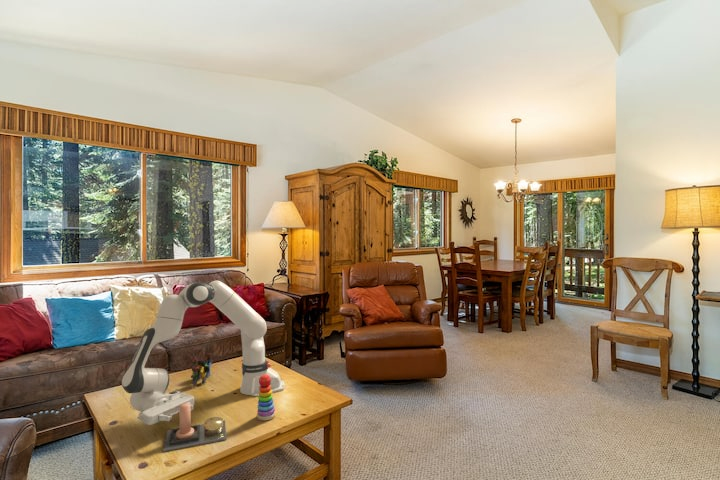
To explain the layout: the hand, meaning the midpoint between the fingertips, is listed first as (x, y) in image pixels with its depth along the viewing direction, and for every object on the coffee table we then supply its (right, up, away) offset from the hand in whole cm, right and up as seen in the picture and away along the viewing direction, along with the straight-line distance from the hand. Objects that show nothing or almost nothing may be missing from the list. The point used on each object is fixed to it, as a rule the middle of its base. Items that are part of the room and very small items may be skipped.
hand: (181, 413), depth 153 cm
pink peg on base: (+2, -8, -1) cm, 9 cm away
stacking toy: (+30, -9, +16) cm, 35 cm away
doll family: (-15, -8, +57) cm, 60 cm away
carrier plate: (+6, -10, +1) cm, 11 cm away
